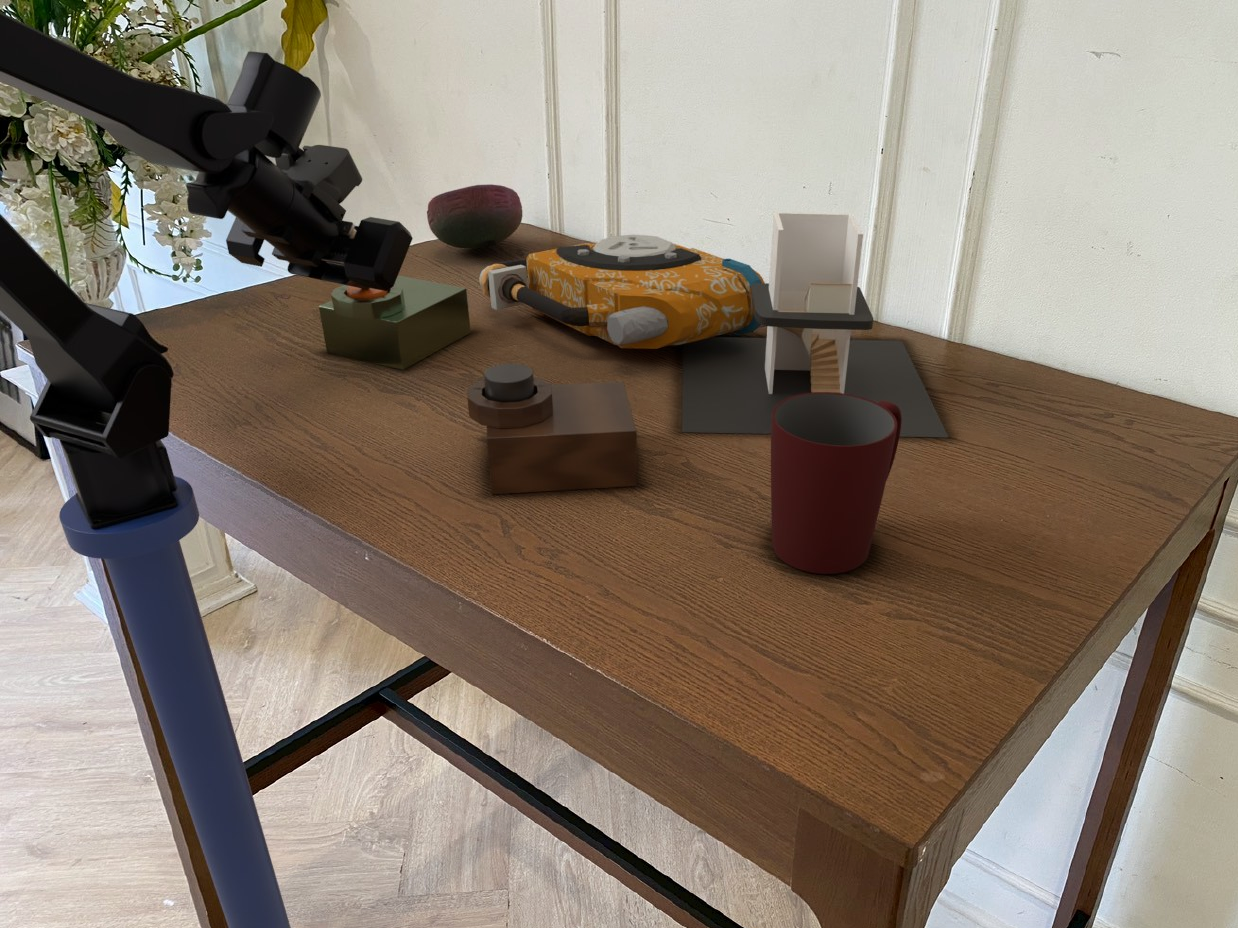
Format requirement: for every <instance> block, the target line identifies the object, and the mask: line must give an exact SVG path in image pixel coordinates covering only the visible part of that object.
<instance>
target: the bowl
mask: <svg viewBox="0 0 1238 928" xmlns="http://www.w3.org/2000/svg"><path fill="white" fill-rule="evenodd" d="M426 216H427V217H426V218H427V223H428V226H429V229H430V231H431V232H432V234H433V235H434V236H435V238H437V240H439V242H442V243H443V244H445V245H448V246H451V247H454V248H458V249H480V248H487V247H492V246H495V245H497V244H500V243H502V242H503V241H505V240H507V239H508V238H509V237H510V236H512V235H513V234H514V233H515V232H516V231H517V230H518V228H519V227H520V225H521V223H522V220H523V205H522V202H521V198H520V196H519V194H518V193H517V192H516V191H515V190H514V189H513V188H510V187H507V186H504V185H501V184H491V183H490V184H475V185H469V186H465V187H461V188H457V189H453V190H450V191H446V192H443V193H440V194H437V195H435V196H434V197H432V198H431V199H430V200H429V202H428V203H427V211H426Z"/></svg>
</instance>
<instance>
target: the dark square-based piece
mask: <svg viewBox="0 0 1238 928" xmlns="http://www.w3.org/2000/svg"><path fill="white" fill-rule="evenodd" d="M859 225H860V224H859V223H858V221H857V220H856V217H855V215H854V214H853V213H833V212H832V213H831V212H796V211H795V212H793V211H792V212H790V211H789V212H787V211H773V214H772V231H771V232H772V233H771V247H770V263H769V277H768V278H769V281H768V282H767V283H766V282H765V283H755V284H752V285H751V298H752V304H753V310H754V316H755V320H756V321H757V322H758V323H759V324H760V325H761V326H764V327H766V337H730V336H728V337H727V336H714V337H710V338H706V339H702V340H697V341H693V342H689V343H685V344H682V375H681V376H682V379H681V380H682V381H681V383H682V385H681V386H682V387H681V433H702V434H703V433H705V434H706V433H707V434H749V435H750V434H753V435H756V434H757V435H771V422H772V412H773V409H774V408H775V406H776V405H777V404H778V403H780V402H781V401H783V400H785V399H787V398H790V397H792V396H796V395H800V394H806V393H814V392H832V393H843V394H849V395H854V396H858V397H863V398H866V399H868V400H871V401H874V402H876V403H878V402H880V401H889V402H891V403H894V404H896V405H897V406H898V407H899V409H900V411H901V417H902V422H901V431H900V437H899V438H901V437H903V438H904V437H905V438H906V437H907V438H908V437H909V438H949V434H948V433H947V431H946V428H945V426H944V424H943V421H942V420H941V418H940V416H939V414H938V412H937V410H936V407H935V406H934V404H933V402H932V400H931V397H930V395H929V394H928V391H927V390H926V387H925V385H924V383H923V381H922V378H921V377H920V375H919V373H918V371H917V368H916V367H915V365H914V363H913V361H912V358H911V356H910V354H909V352H908V350H907V347H906V345H905V344H904V342H903V340H871V339H870V340H867V339H865V340H864V339H861V340H860V339H851V335H852V334H851V333H852V331H868V330H873V327H874V316H873V314H872V312H871V310H870V309H871V308H870V307H869V305H868V303H867V300H866V299H865V296H864V294H863V292H862V290H861V288H860V287H859V286H858V284H859V277H860V268H861V267H860V266H861V258H862V249H863V239H864V232H863V231H862V229H861V227H860V226H859Z"/></svg>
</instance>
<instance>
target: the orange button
mask: <svg viewBox="0 0 1238 928" xmlns="http://www.w3.org/2000/svg"><path fill="white" fill-rule="evenodd" d="M386 294H388V290H387V291H383V290H378V289H372V288H369V289H368V290H367V289H362V288H357V287H352V286H349V287H348V288H347V296H348V297H350V298H355V299H371V298H377V297H382V296H384V295H386Z"/></svg>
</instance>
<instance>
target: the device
mask: <svg viewBox="0 0 1238 928" xmlns="http://www.w3.org/2000/svg"><path fill="white" fill-rule="evenodd" d="M478 281H479V286H480V287H481V289H482V292H483V295H485V296H486V297H487V298H488V299H490V307H491V309H493V310H495V311H500V310H501V311H502V310H504V309H509V308H513V307H517V306H521V305H525V306H528V307H530V308H532V309H533V310H535V311H537V312H539V313H541V314H542V315H544V316H547V317H549V318H551V319H553V320H555V321H557V322H559V323H562V324H563V325H565V326H568V327H570V328H571V329H574V330H576V331H578V332H580V333H582V334H584V335H586V336H589V337H591V336H593V337H594V336H595V337H598V338H599V339H602V340H604V341H606V342H608V343H610V344H612V345H614V346H618V347H619V348H620V349H642V350H643V349H644V350H645V349H647V350H649V349H650V350H651V349H652V350H656V349H657V350H658V349H660V348H663V347H667V346H681V345H683V344H685V343H689V342H693V341H697V340H702V339H706V338H710V337H719V336H721V335H726V334H729V333H732V334H734V335H737V336H743V335H748V334H752V333H754V331H756V330H757V329H759V328H760V327H761V326H762V325H760V324H759V323H758V322H757V321H756V320H755V316H754V310H753V304H752V298H751V285H752V284H755V283H766V282H765V280H764V278H763V276H762V275H761V273H759V272H758V271H756V270H755V269H754V268H753V267H751V265H750V264H747V263H744V262H741V261H738V260H736V259H732V258H723V257H720V256H716V255H715V254H711V253H709V252H705V251H702V250H700V249H697V248H694V247H691V248H688V247H685V246H682V245H679V244H676V243H673V242H672V241H671V240H670V241H669V240H667V239H664V238H662V237H660V236H657V235H645V234H624V235H623V234H622V235H613V236H609V237H606V238H603V239H600V240H599V241H598V242H595V243H594V242H593V243H590V242H585V243H579V244H574V245H568V246H559V247H558V248H553V249H548V250H542V251H537V252H532V253H528V255H527V257H525V259H523V258H522V259H514V260H513V259H512V260H508V261H507V260H506V261H502V262H496V263H492V264H490V265H487V266H485V267H484V268H483V269H482V270H481V272H480V274H479V279H478Z"/></svg>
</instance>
